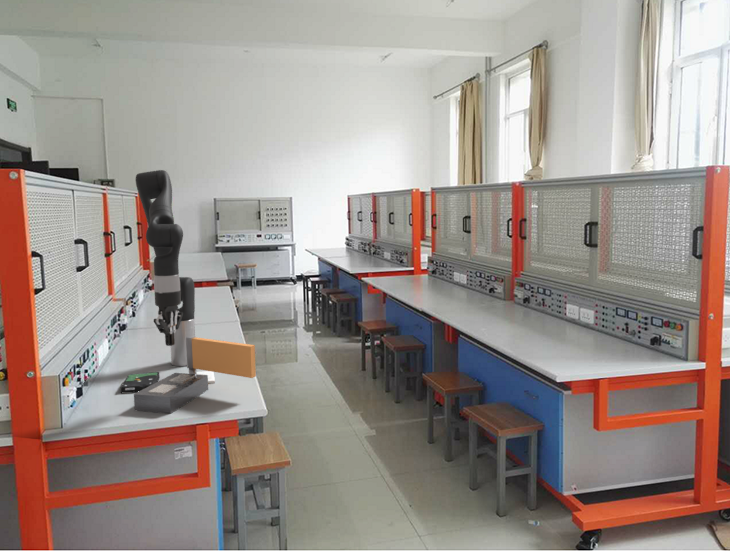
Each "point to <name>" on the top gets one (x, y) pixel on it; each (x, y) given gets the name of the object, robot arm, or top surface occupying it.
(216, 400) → the top surface
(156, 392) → the grey flat block
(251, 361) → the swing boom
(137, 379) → the disk drive
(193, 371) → the boom post
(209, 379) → the external hard drive
